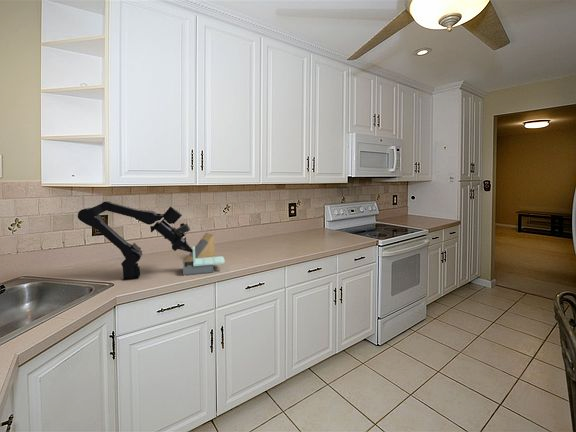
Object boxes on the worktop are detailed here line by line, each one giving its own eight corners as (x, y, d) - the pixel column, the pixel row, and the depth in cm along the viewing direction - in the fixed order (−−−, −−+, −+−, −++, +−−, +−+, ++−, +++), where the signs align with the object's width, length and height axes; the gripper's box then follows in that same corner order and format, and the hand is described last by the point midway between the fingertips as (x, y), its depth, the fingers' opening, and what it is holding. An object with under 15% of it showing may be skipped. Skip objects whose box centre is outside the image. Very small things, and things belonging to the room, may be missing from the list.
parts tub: (183, 275, 140) (182, 267, 140) (183, 269, 150) (183, 261, 149) (213, 272, 144) (213, 264, 144) (212, 266, 154) (211, 259, 153)
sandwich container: (182, 263, 162) (180, 236, 160) (206, 257, 173) (205, 232, 171) (189, 266, 156) (188, 238, 154) (214, 260, 167) (213, 234, 165)
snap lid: (193, 266, 141) (192, 250, 140) (193, 260, 151) (192, 245, 150) (225, 263, 145) (224, 248, 144) (223, 257, 156) (222, 243, 155)
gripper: (178, 221, 132) (204, 243, 137) (179, 216, 150) (203, 236, 155) (160, 239, 131) (187, 261, 136) (164, 232, 149) (188, 251, 153)
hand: (192, 251), depth 145 cm, fingers closed, pressing on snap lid
